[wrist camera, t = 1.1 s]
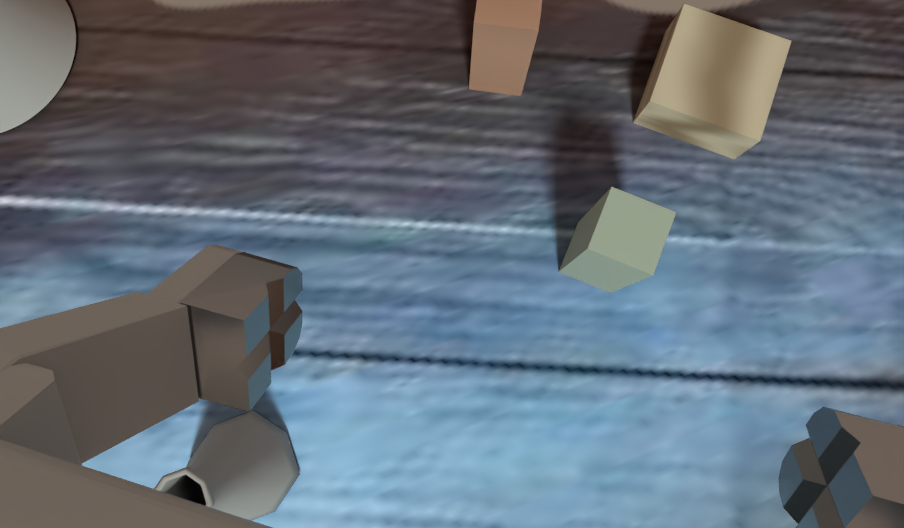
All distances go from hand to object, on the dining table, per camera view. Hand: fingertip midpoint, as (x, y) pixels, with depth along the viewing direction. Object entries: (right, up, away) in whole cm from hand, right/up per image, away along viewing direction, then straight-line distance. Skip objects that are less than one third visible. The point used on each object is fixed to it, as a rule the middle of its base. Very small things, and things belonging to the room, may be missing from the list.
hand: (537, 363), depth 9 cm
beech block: (+18, +15, +36) cm, 42 cm away
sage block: (+9, +2, +33) cm, 35 cm away
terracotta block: (+2, +17, +36) cm, 40 cm away
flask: (-16, -12, +31) cm, 37 cm away
